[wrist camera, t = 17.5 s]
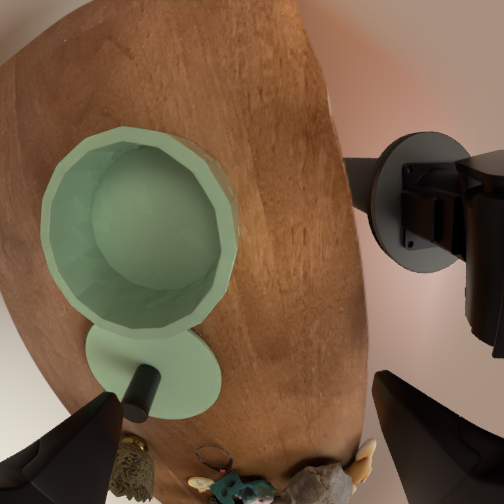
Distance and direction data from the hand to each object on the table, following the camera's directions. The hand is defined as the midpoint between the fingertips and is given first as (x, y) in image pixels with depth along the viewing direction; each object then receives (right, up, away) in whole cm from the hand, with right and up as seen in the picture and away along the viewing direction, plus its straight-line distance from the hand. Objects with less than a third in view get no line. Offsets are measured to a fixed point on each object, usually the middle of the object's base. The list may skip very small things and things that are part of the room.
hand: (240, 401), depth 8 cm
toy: (+16, -26, +20) cm, 36 cm away
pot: (-6, +7, +11) cm, 15 cm away
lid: (-9, -6, +15) cm, 18 cm away
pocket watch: (-7, -29, +23) cm, 38 cm away
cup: (-14, -19, +20) cm, 31 cm away
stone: (+7, -28, +22) cm, 37 cm away
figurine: (-2, -25, +16) cm, 30 cm away
